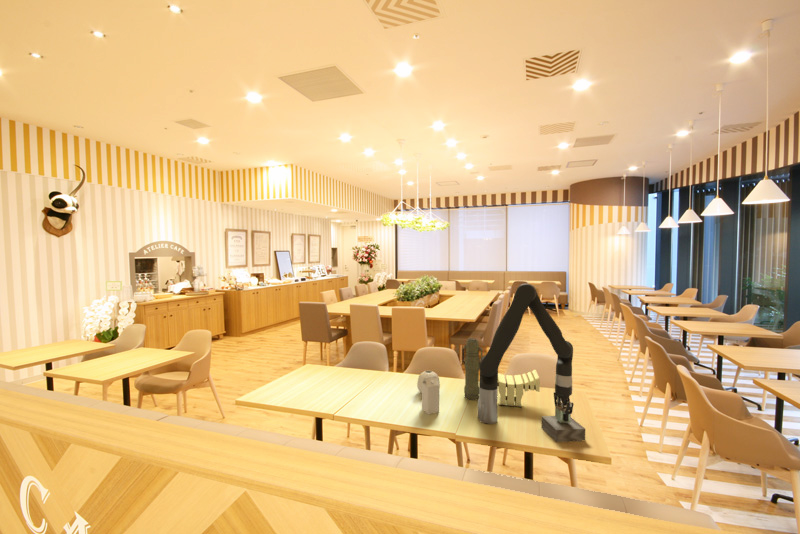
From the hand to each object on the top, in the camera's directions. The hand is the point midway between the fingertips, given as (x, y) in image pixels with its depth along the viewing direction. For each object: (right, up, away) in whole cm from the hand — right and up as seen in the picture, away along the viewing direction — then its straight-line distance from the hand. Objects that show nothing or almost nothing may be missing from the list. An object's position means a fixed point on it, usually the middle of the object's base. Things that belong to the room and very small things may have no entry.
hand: (562, 418), depth 174 cm
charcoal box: (0, -8, 0) cm, 8 cm away
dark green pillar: (-35, -6, +44) cm, 57 cm away
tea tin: (0, -1, 0) cm, 1 cm away
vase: (-61, -6, +50) cm, 79 cm away
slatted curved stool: (-14, -6, +37) cm, 40 cm away
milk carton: (-61, -7, +25) cm, 67 cm away
